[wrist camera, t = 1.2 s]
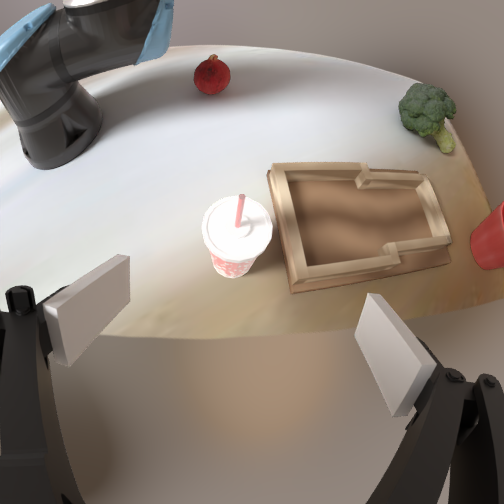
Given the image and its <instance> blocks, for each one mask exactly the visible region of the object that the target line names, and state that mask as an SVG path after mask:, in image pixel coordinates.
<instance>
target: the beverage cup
mask: <svg viewBox="0 0 504 504" xmlns="http://www.w3.org/2000/svg"><path fill="white" fill-rule="evenodd" d="M272 227H273V225H272V222H271V219H270V216H269V213H268V212H267V211H266V210H265V209H264V208H263V207H262V205H261V204H260V203H258V202H256V201H254V200H252V199H250V198H248V197H245V195H244V194H240V195H239V196H231V197H226V198H222V199H220V200H219V201H217V202H215V203H214V204H212V205H211V206H210V208H209V209H208V210H207V212H206V213H205V215H204V218H203V223H202V233H203V237H204V241H205V244H206V246H207V247H208V248H209V249H210V253H211V257H212V261H213V264H214V267H215V269H216V270H217V271H218V273H220V274H221V275H223V276H225V277H228V278H237V277H241V276H243V275H244V274H245V273H247V272H248V270H249V269H250V267H251V266H252V264H253V262H254V261H255V259H256V258H257V256H259V255H260V254H262V253H263V252H264V250H265V249H266V247H267V245H268V243H269V242H270V240H271V237H272Z"/></svg>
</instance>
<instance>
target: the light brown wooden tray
mask: <svg viewBox="0 0 504 504" xmlns="http://www.w3.org/2000/svg"><path fill="white" fill-rule="evenodd" d="M267 179H268V184H269V188H270V193H271V198H272V202H273V207H274V212H275V216H276V221H277V226H278V231H279V236H280V241H281V246H282V251H283V256H284V261H285V266H286V271H287V276H288V282H289V287H290V292H291V294H295V293H302V292H308V291H314V290H320V289H326V288H332V287H338V286H344V285H349V284H355V283H360V282H365V281H371V280H376V279H381V278H386V277H391V276H396V275H401V274H406V273H410V272H415V271H420V270H424V269H429V268H433V267H438V266H442V265H446V264H448V263H450V262H451V260H450V257H449V253H448V250H447V247H446V246H448V245H449V244H451V243H453V242H452V239H451V236H450V233H449V230H448V227H447V225H446V222H445V219H444V216H443V214H442V211H441V208H440V206H439V203H438V201H437V198H436V196H435V193H434V191H433V189H432V186H431V184H430V182H429V179H428V177H427V175H426V174H419V173H418V171H408V170H388V169H369V168H368V165H367V163H353V162H295V163H273V164H272V167H271V170H268V172H267Z"/></svg>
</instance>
